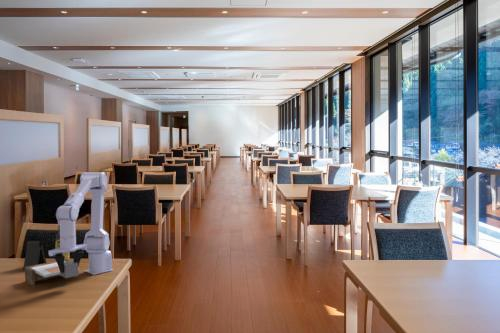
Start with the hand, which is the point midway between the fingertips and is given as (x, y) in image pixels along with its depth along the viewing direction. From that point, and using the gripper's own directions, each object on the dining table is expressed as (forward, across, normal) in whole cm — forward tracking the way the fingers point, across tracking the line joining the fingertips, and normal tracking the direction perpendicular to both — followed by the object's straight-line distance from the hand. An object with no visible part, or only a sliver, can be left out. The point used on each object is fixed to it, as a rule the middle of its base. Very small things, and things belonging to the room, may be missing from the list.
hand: (69, 270), depth 179 cm
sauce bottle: (+7, +15, +40) cm, 43 cm away
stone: (+2, 0, 0) cm, 2 cm away
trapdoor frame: (+7, 0, +19) cm, 20 cm away
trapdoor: (+2, 0, +13) cm, 13 cm away
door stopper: (+7, +3, +42) cm, 43 cm away
